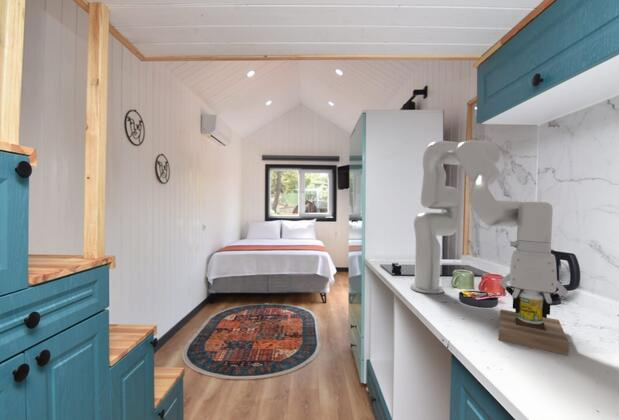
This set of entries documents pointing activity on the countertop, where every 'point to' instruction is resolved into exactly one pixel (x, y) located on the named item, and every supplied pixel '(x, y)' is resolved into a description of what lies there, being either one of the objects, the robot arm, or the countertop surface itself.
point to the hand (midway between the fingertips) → (530, 313)
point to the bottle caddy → (533, 333)
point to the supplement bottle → (531, 307)
